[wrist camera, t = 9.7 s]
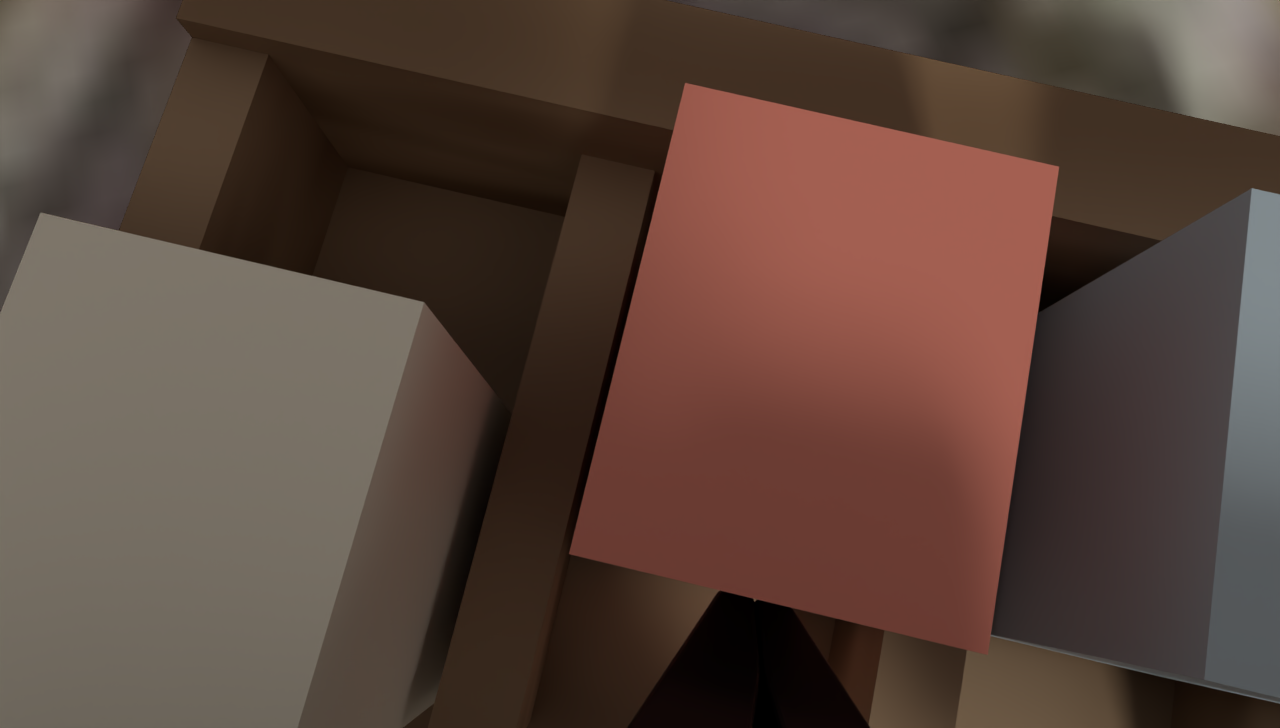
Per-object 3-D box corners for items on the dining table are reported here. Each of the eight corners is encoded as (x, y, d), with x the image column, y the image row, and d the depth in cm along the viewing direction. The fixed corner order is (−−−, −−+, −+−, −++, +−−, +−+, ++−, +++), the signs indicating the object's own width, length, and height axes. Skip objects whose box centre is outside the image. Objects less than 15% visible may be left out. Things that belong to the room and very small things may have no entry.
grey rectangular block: (1159, 676, 16) (1638, 784, 8) (931, 621, 16) (1204, 680, 8) (1189, 398, 17) (1637, 274, 9) (975, 349, 17) (1251, 188, 9)
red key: (816, 608, 16) (988, 654, 8) (593, 554, 16) (568, 553, 8) (867, 337, 17) (1058, 166, 9) (658, 289, 17) (684, 82, 10)
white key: (437, 700, 15) (265, 834, 8) (210, 644, 15) (-165, 725, 8) (513, 416, 16) (423, 302, 9) (300, 365, 16) (40, 212, 9)
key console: (1163, 952, 16) (1471, 1176, 10) (142, 697, 17) (-117, 773, 11) (1228, 301, 19) (1504, 185, 13) (342, 99, 19) (221, -99, 13)
